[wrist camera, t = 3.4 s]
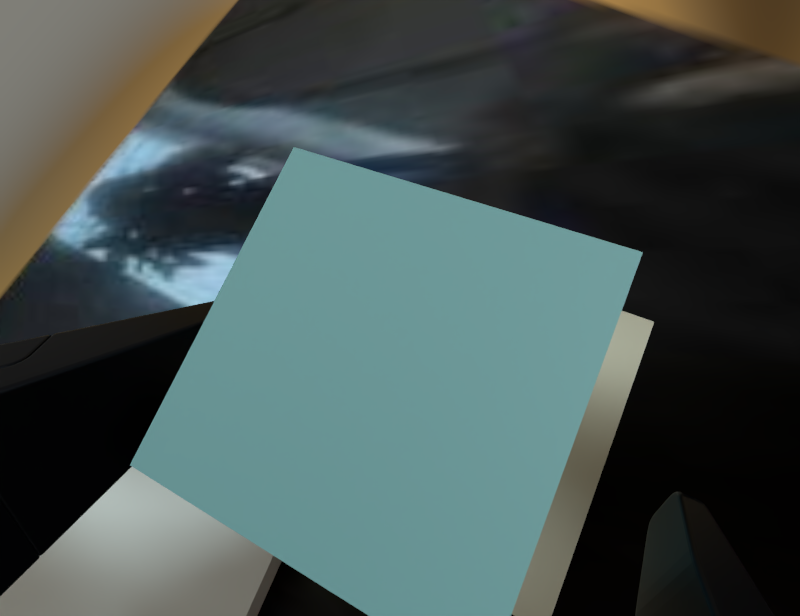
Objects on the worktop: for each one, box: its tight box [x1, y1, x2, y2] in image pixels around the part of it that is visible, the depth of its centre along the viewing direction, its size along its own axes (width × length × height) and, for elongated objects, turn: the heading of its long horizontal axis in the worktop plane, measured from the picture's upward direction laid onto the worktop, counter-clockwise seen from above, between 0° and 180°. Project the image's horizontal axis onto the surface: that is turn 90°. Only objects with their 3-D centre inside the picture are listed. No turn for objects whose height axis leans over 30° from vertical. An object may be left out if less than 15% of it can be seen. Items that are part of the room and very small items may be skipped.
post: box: [130, 147, 643, 616], centre depth 11 cm, size 4×4×13 cm
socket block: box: [512, 311, 654, 616], centre depth 15 cm, size 9×9×4 cm
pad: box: [0, 467, 282, 616], centre depth 17 cm, size 10×10×1 cm
